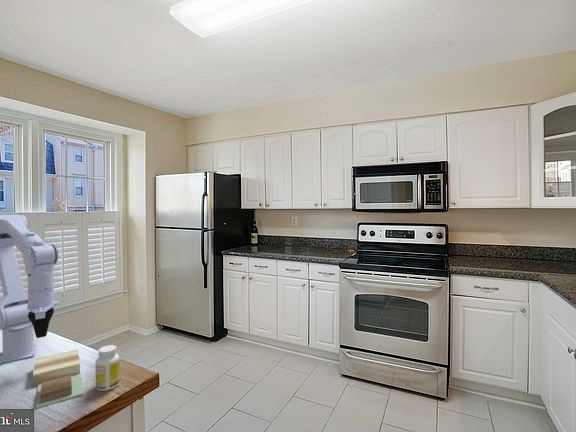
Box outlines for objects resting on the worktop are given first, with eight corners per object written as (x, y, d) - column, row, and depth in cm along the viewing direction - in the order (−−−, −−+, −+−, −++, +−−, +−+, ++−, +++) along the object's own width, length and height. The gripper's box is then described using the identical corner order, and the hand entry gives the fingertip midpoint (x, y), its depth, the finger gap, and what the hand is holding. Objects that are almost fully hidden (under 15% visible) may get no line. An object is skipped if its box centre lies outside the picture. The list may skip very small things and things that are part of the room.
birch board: (35, 369, 88) (35, 358, 88) (77, 359, 94) (77, 349, 94) (33, 386, 80) (32, 375, 80) (79, 374, 86) (79, 363, 86)
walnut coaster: (40, 394, 73) (40, 403, 73) (71, 386, 77) (71, 394, 77) (41, 382, 78) (41, 390, 78) (71, 375, 82) (71, 382, 82)
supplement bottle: (120, 378, 85) (120, 342, 85) (119, 388, 80) (119, 351, 80) (96, 382, 83) (96, 345, 82) (94, 393, 78) (94, 355, 78)
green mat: (38, 385, 81) (38, 384, 81) (80, 374, 86) (80, 373, 86) (35, 408, 72) (35, 406, 72) (82, 395, 77) (82, 393, 77)
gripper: (59, 292, 84) (59, 342, 85) (58, 281, 96) (58, 325, 96) (24, 296, 80) (25, 349, 80) (28, 284, 92) (29, 330, 92)
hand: (41, 336), depth 88 cm, fingers closed
